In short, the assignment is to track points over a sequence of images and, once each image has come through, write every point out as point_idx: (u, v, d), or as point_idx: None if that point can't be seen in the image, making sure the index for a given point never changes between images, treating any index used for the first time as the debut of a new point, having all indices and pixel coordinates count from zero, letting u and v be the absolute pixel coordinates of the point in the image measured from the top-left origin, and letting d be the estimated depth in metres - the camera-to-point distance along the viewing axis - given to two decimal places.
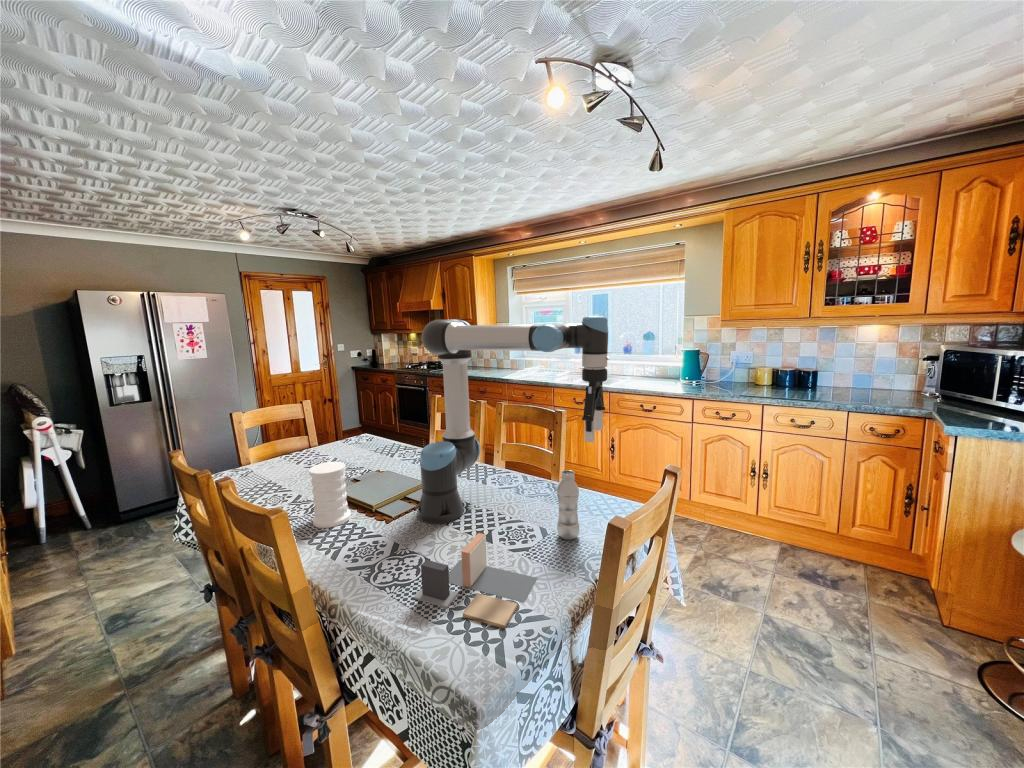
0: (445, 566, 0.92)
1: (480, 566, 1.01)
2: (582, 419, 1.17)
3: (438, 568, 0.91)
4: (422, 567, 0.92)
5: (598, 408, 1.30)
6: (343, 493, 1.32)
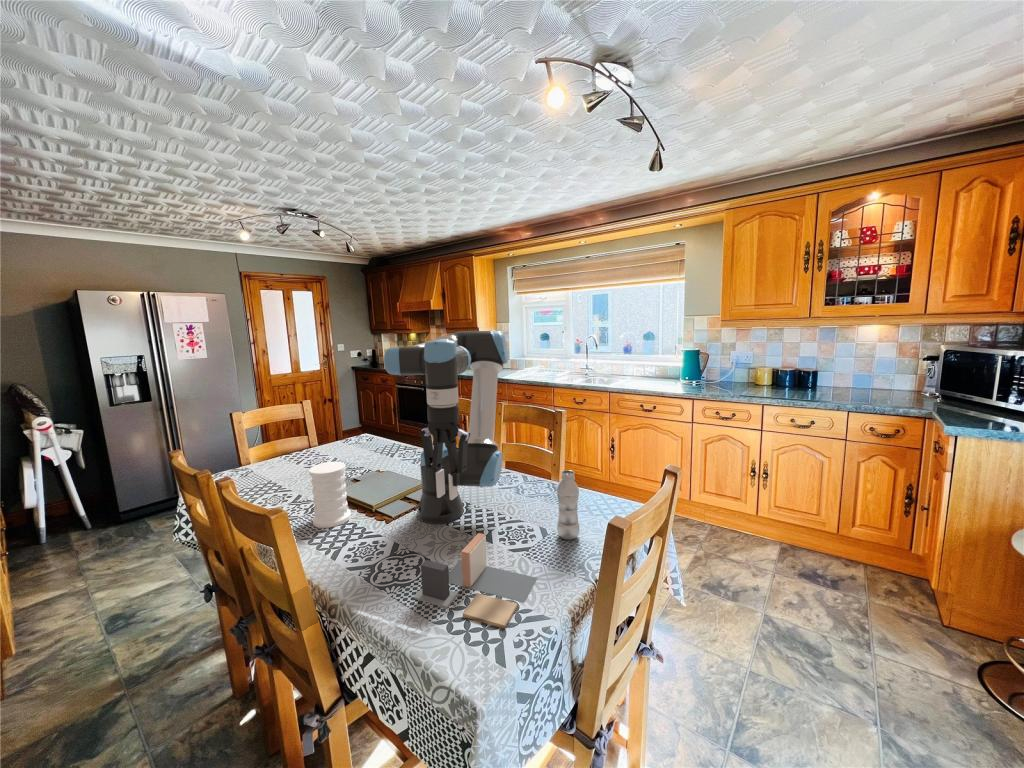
0: (445, 566, 0.92)
1: (480, 566, 1.01)
2: None
3: (438, 568, 0.91)
4: (422, 567, 0.92)
5: None
6: (343, 493, 1.32)
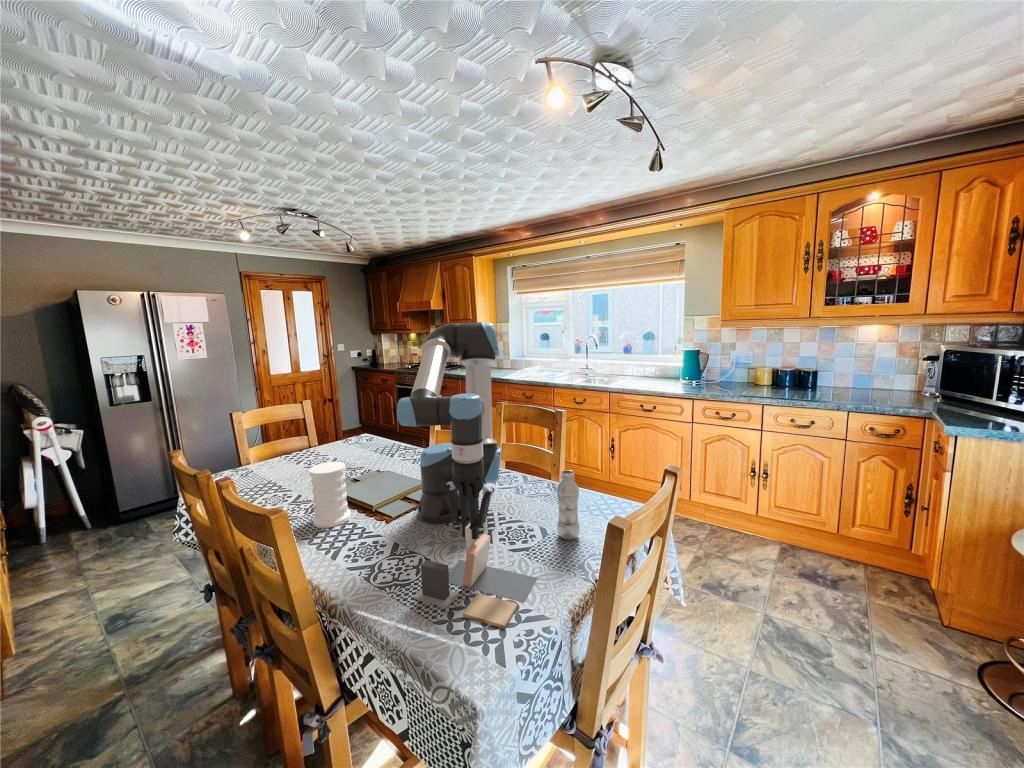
0: (445, 566, 0.92)
1: (481, 567, 1.00)
2: None
3: (438, 568, 0.91)
4: (422, 567, 0.92)
5: None
6: (343, 493, 1.32)
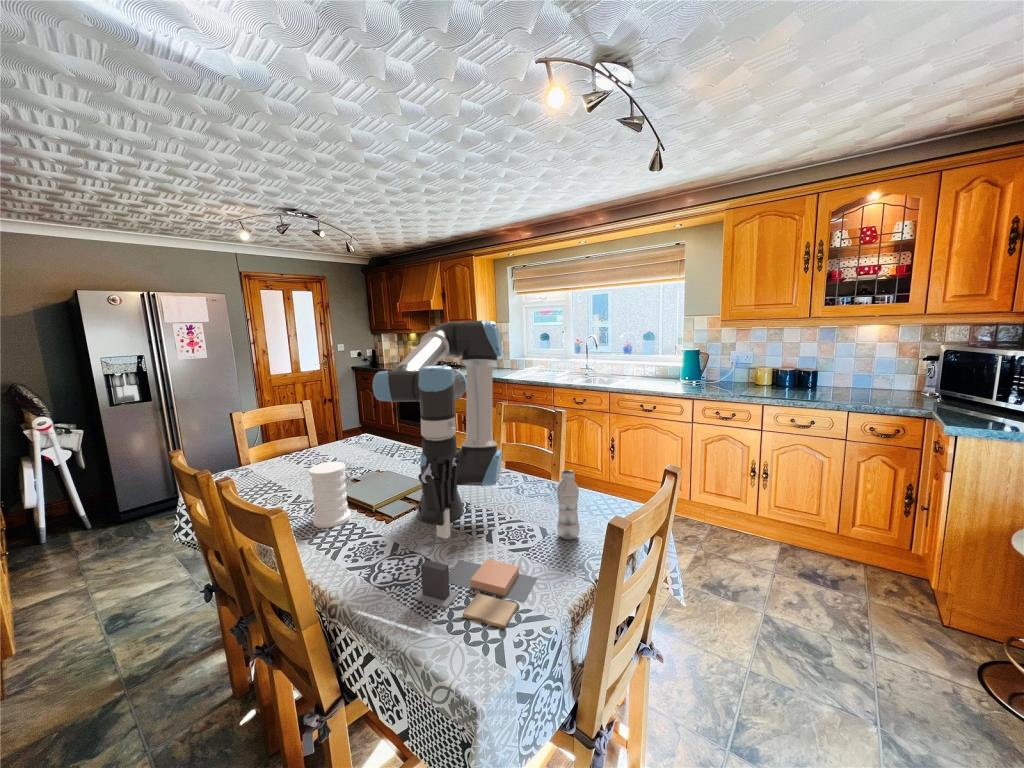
0: (445, 566, 0.92)
1: None
2: None
3: (438, 568, 0.91)
4: (422, 567, 0.92)
5: None
6: (343, 493, 1.32)
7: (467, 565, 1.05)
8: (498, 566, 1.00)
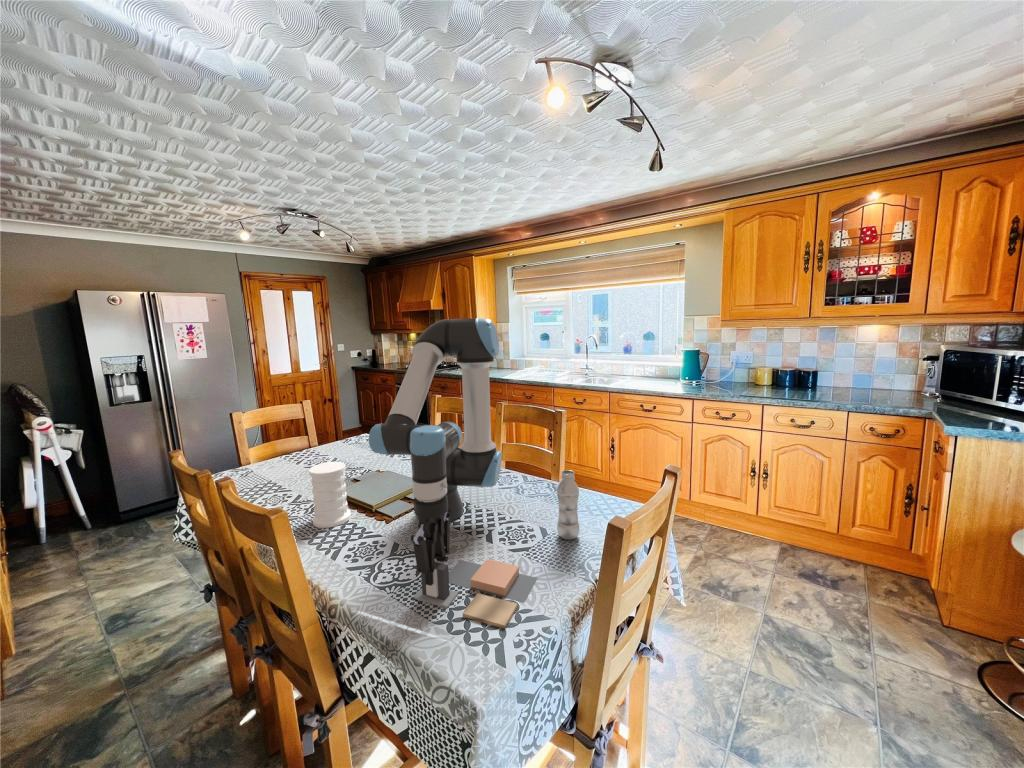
0: (445, 566, 0.92)
1: None
2: None
3: (438, 568, 0.91)
4: None
5: (438, 558, 0.94)
6: (343, 493, 1.32)
7: (467, 565, 1.05)
8: (498, 566, 1.00)
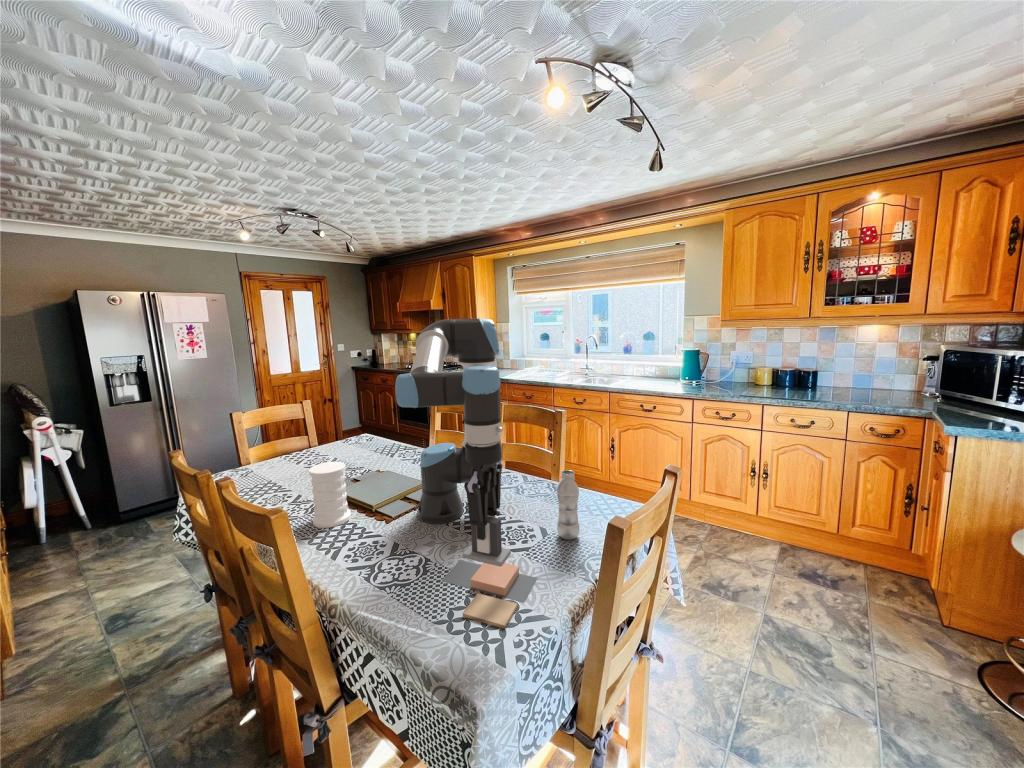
0: (498, 519, 0.84)
1: None
2: None
3: (491, 522, 0.83)
4: None
5: (489, 512, 0.86)
6: (343, 493, 1.32)
7: (467, 565, 1.05)
8: (498, 566, 1.00)
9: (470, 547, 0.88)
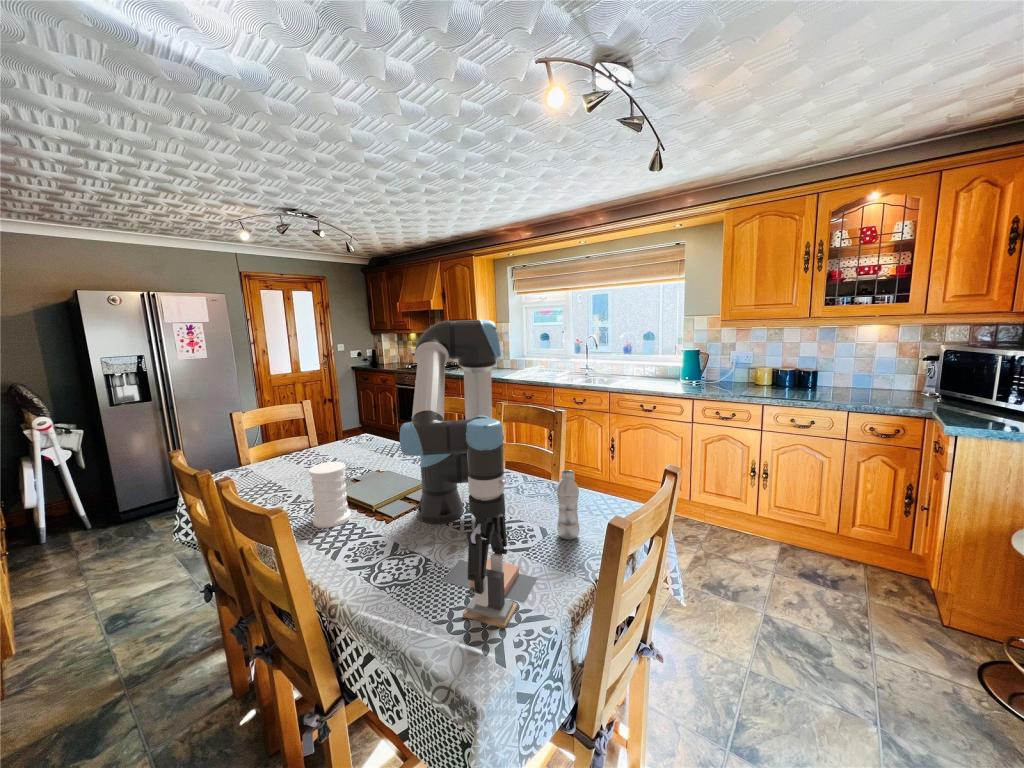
0: (501, 573, 0.86)
1: None
2: None
3: (494, 576, 0.85)
4: None
5: (497, 551, 0.90)
6: (343, 493, 1.32)
7: (467, 565, 1.05)
8: None
9: (473, 599, 0.90)
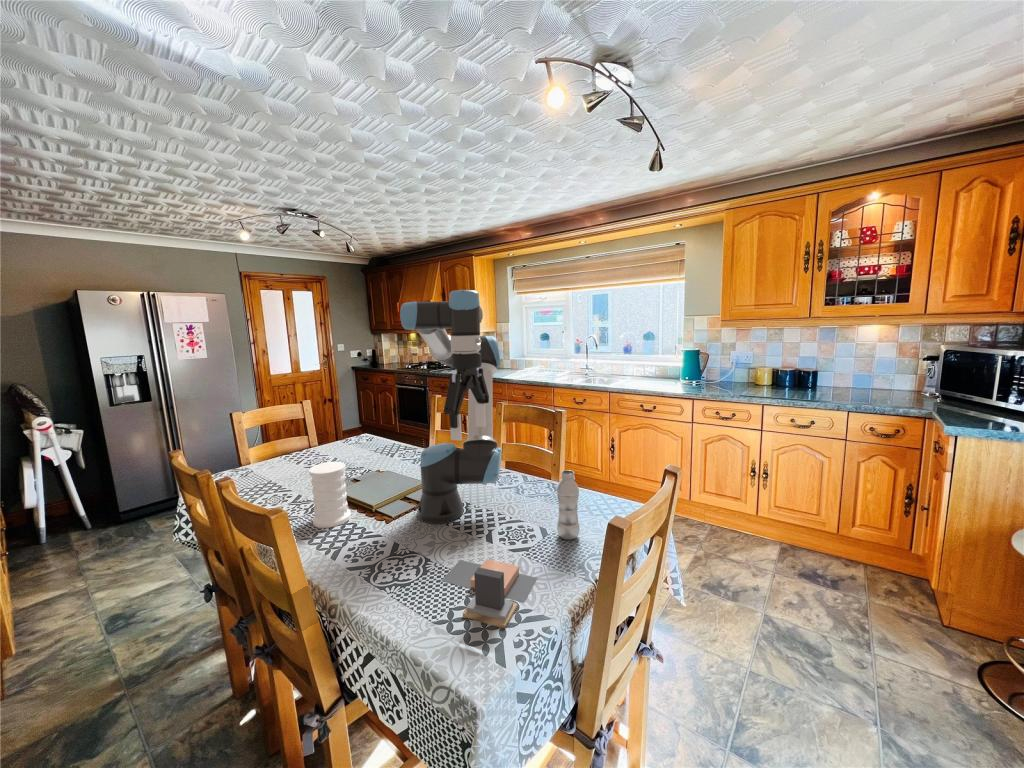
0: (501, 573, 0.86)
1: None
2: None
3: (494, 576, 0.85)
4: (476, 575, 0.87)
5: (480, 401, 1.11)
6: (343, 493, 1.32)
7: (467, 565, 1.05)
8: (498, 566, 1.00)
9: (473, 599, 0.90)
